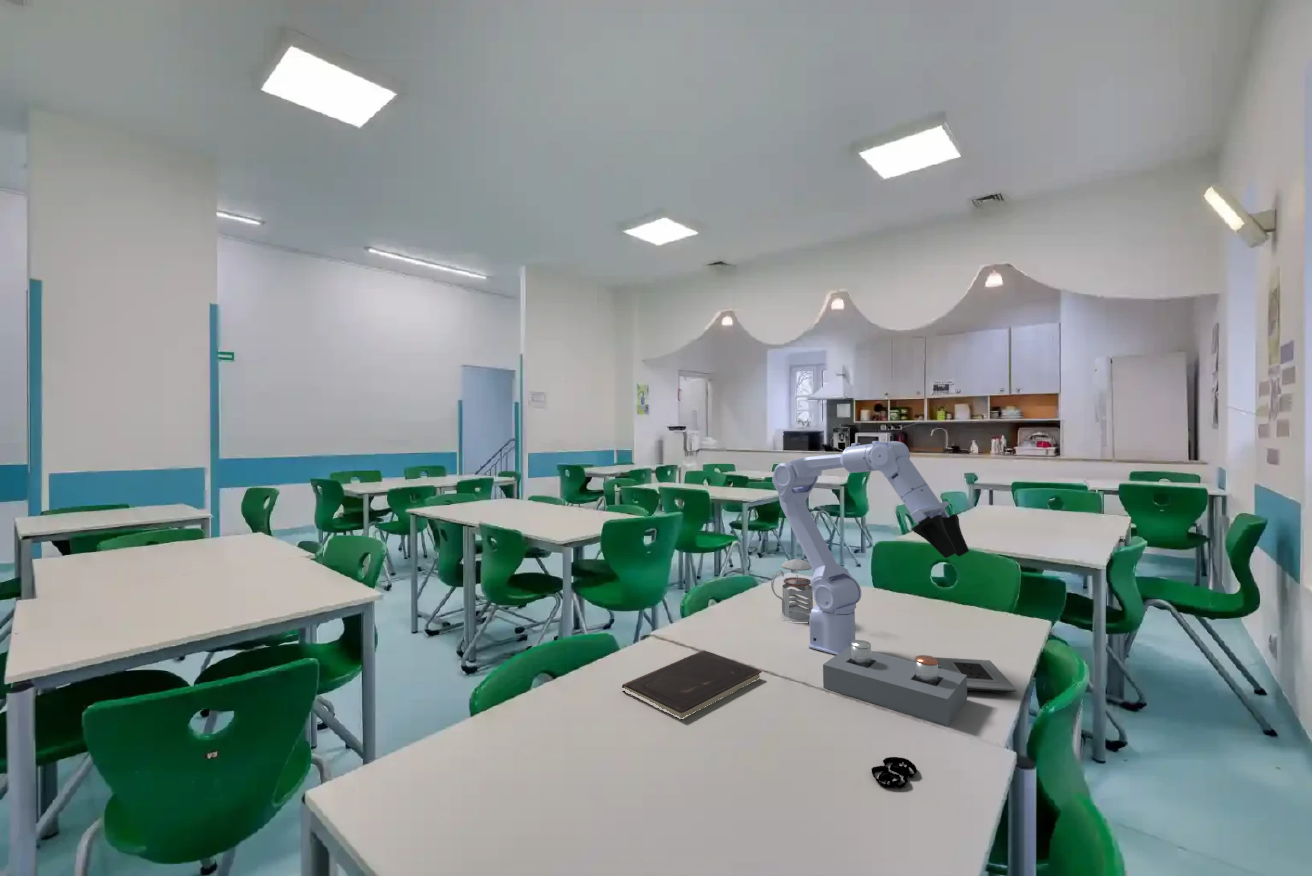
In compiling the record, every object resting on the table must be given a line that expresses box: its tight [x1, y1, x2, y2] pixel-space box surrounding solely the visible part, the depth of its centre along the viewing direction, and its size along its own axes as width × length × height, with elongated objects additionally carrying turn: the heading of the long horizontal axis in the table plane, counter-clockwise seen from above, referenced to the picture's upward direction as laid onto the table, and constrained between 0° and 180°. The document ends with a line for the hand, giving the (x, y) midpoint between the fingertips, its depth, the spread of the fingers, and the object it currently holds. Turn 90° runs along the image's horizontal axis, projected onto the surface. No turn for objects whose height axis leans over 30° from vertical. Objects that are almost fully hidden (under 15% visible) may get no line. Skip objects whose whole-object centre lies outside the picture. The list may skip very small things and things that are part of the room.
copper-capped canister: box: [915, 654, 939, 686], centre depth 102 cm, size 4×4×5 cm
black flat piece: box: [871, 756, 918, 789], centre depth 81 cm, size 5×8×1 cm, turn 132°
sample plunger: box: [851, 639, 872, 668], centre depth 110 cm, size 4×4×5 cm
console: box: [822, 646, 968, 727], centre depth 106 cm, size 22×12×4 cm, turn 48°
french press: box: [770, 537, 814, 622], centre depth 149 cm, size 10×12×25 cm
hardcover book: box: [621, 649, 763, 718], centre depth 111 cm, size 16×23×2 cm
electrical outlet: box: [933, 656, 1018, 694], centre depth 110 cm, size 13×10×2 cm
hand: (957, 554), depth 105 cm, fingers open, 7 cm apart
